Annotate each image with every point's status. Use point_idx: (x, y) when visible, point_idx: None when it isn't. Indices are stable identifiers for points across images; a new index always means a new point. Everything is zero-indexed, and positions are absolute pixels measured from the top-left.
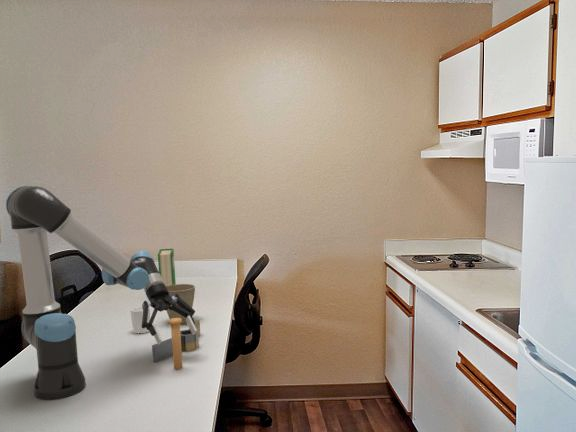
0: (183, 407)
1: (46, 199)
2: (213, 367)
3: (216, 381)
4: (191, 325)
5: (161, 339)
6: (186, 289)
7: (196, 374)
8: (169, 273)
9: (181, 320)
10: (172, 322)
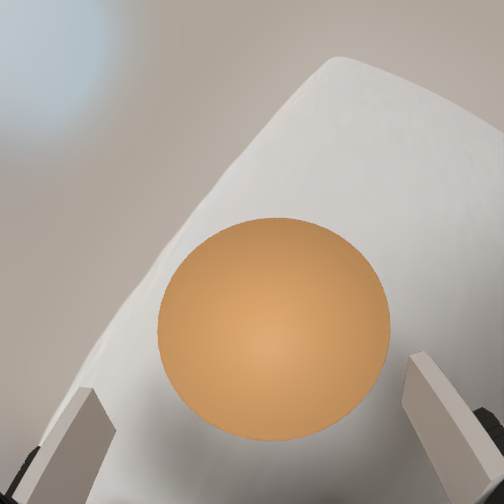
0: (362, 105)
1: None
2: (165, 283)
3: (227, 172)
4: (74, 442)
5: (415, 356)
6: None
7: None
8: None
9: (192, 263)
10: (346, 253)
